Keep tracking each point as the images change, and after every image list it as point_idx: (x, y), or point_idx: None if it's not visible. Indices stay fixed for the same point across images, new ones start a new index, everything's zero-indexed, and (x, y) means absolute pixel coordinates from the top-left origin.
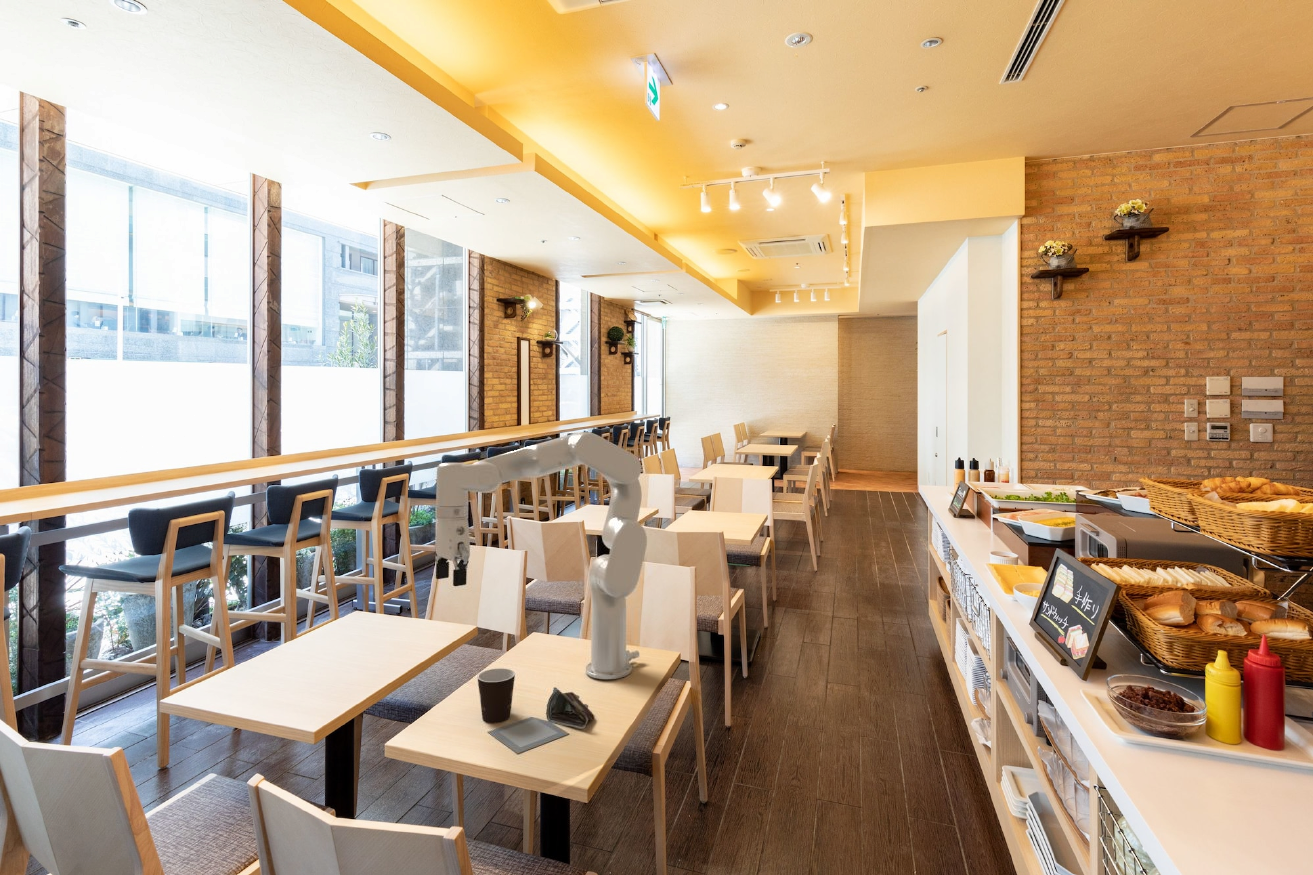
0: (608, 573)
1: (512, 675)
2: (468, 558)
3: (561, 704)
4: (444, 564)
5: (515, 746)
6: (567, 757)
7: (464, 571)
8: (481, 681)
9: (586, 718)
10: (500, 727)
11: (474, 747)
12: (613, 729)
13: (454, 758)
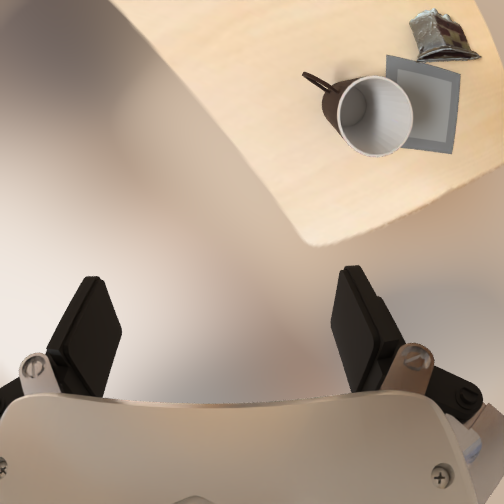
0: None
1: (382, 81)
2: (498, 413)
3: (420, 32)
4: (83, 366)
5: (439, 144)
6: (490, 120)
7: (403, 342)
8: (379, 155)
9: (479, 56)
10: None
11: (401, 181)
12: (481, 32)
13: (403, 213)
